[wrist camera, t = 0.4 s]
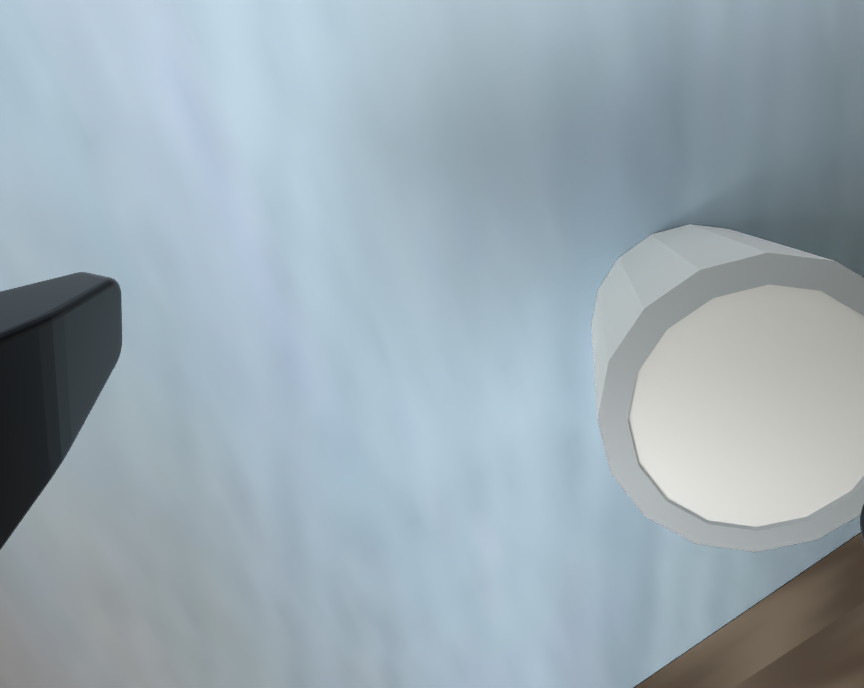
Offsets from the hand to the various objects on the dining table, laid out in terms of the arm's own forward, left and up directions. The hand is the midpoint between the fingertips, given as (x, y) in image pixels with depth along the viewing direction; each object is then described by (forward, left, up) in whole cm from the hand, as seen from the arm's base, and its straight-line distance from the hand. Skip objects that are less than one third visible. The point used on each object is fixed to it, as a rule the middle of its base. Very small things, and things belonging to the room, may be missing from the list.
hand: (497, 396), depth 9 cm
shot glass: (+2, -6, -15) cm, 16 cm away
